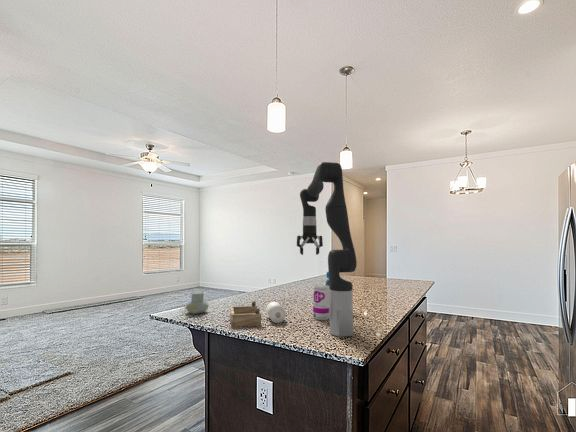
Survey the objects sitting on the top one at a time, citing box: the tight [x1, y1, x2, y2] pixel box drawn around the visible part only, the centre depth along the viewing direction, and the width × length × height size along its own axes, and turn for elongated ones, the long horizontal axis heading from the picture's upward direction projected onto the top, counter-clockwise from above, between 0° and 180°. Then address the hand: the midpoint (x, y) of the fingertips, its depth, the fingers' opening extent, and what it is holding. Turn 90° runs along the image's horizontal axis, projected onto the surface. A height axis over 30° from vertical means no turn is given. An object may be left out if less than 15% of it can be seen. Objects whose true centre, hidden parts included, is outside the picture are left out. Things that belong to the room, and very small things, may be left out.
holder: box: [229, 301, 262, 328], centre depth 144 cm, size 18×13×7 cm
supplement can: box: [312, 284, 330, 321], centre depth 150 cm, size 8×8×15 cm
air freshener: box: [185, 291, 209, 315], centre depth 161 cm, size 11×8×10 cm
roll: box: [265, 301, 287, 324], centre depth 147 cm, size 12×7×7 cm, turn 12°
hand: (309, 254), depth 171 cm, fingers open, 8 cm apart
